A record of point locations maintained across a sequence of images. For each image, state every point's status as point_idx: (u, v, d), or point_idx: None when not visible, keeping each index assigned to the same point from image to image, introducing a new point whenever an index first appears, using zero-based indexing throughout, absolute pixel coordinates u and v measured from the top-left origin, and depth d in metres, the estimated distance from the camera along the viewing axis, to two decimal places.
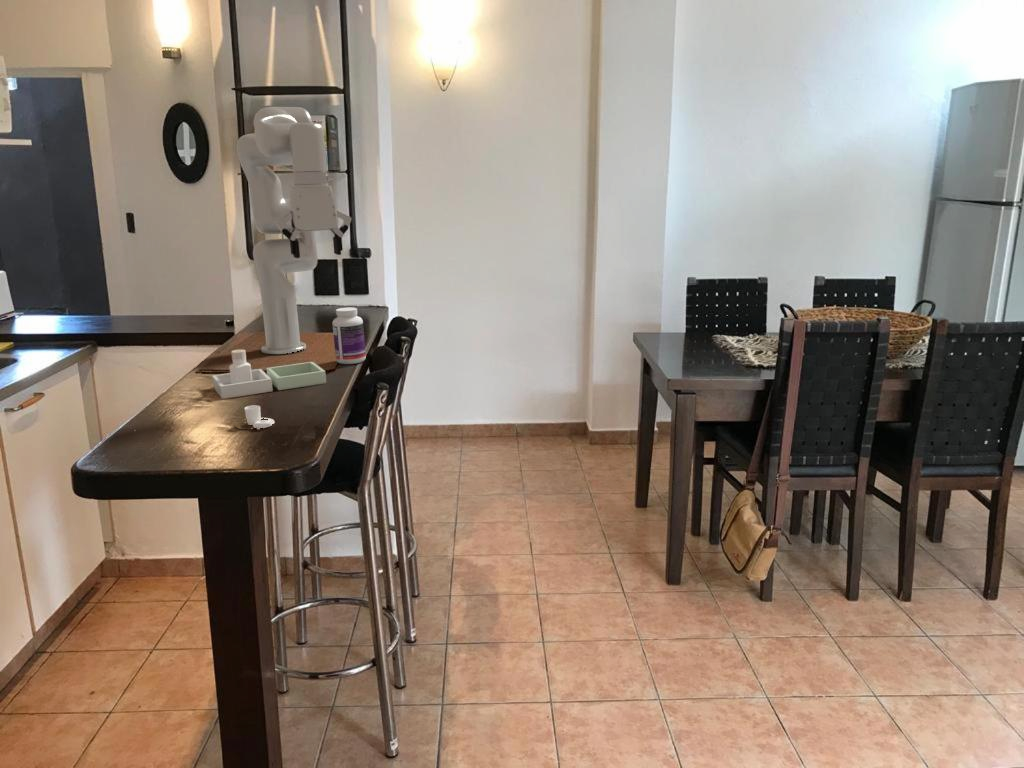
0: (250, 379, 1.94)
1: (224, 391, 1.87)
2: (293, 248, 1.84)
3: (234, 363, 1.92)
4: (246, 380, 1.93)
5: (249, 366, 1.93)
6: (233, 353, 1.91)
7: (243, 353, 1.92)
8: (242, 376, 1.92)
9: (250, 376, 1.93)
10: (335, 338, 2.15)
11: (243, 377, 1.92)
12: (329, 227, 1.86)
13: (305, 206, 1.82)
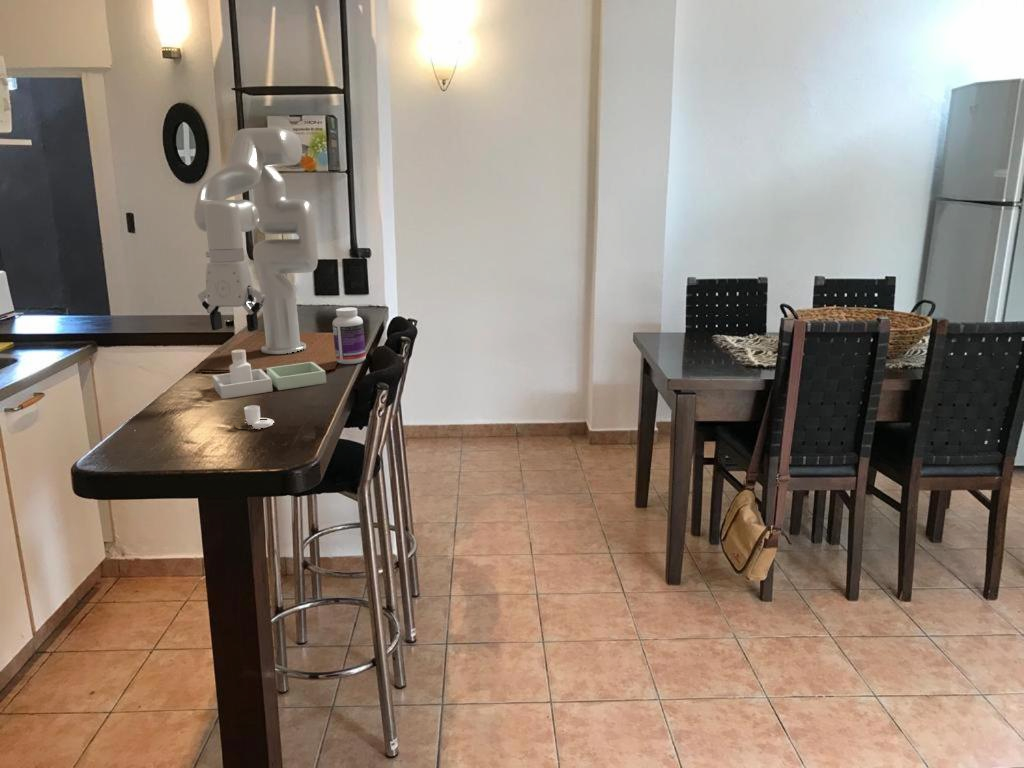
0: (250, 379, 1.94)
1: (224, 391, 1.87)
2: None
3: (234, 363, 1.92)
4: (246, 380, 1.93)
5: (249, 366, 1.93)
6: (233, 353, 1.91)
7: (243, 353, 1.92)
8: (242, 376, 1.92)
9: (250, 376, 1.93)
10: (335, 338, 2.15)
11: (243, 377, 1.92)
12: None
13: None
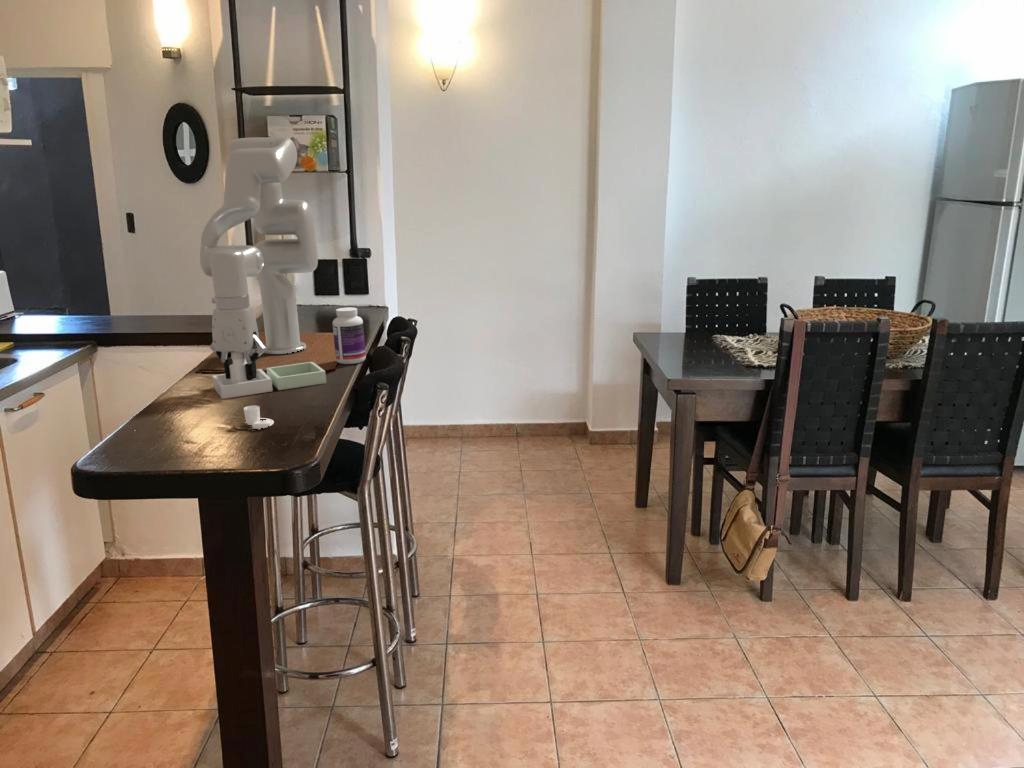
0: None
1: (224, 391, 1.87)
2: None
3: (234, 363, 1.92)
4: (246, 380, 1.93)
5: None
6: (233, 353, 1.91)
7: (243, 353, 1.92)
8: (242, 376, 1.92)
9: None
10: (335, 338, 2.15)
11: (243, 377, 1.92)
12: None
13: None
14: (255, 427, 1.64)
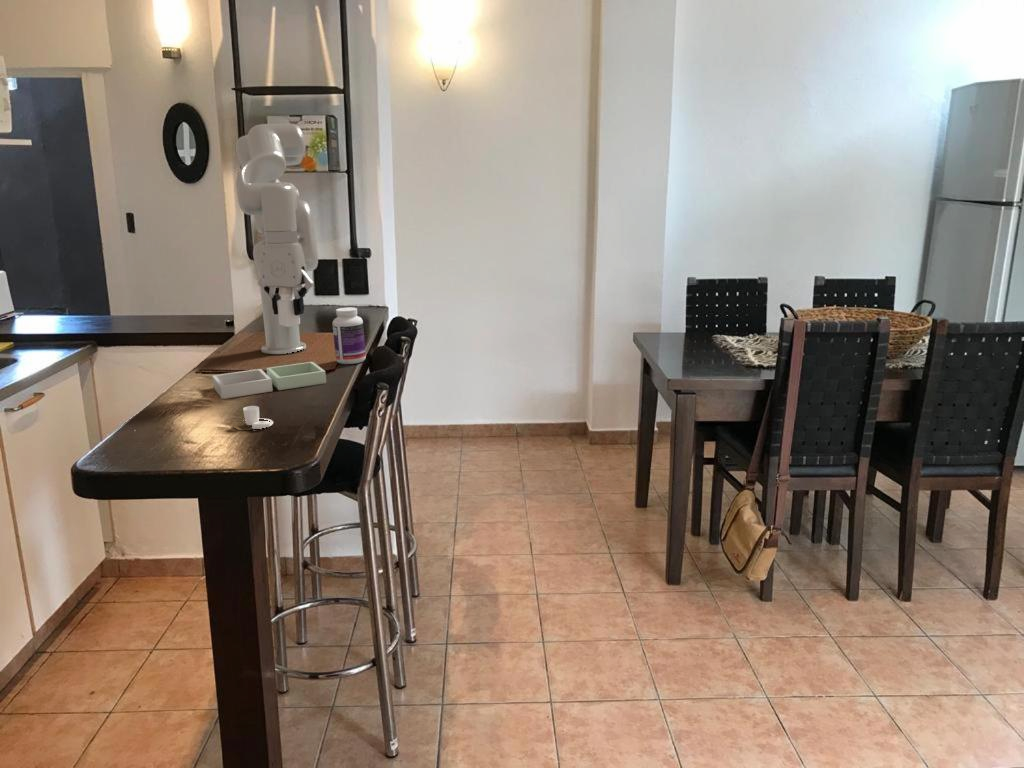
0: None
1: (224, 391, 1.87)
2: None
3: (282, 298, 1.94)
4: (293, 315, 1.95)
5: None
6: (281, 288, 1.93)
7: (291, 288, 1.94)
8: (290, 311, 1.94)
9: None
10: (335, 338, 2.15)
11: (290, 312, 1.94)
12: None
13: None
14: (254, 427, 1.64)
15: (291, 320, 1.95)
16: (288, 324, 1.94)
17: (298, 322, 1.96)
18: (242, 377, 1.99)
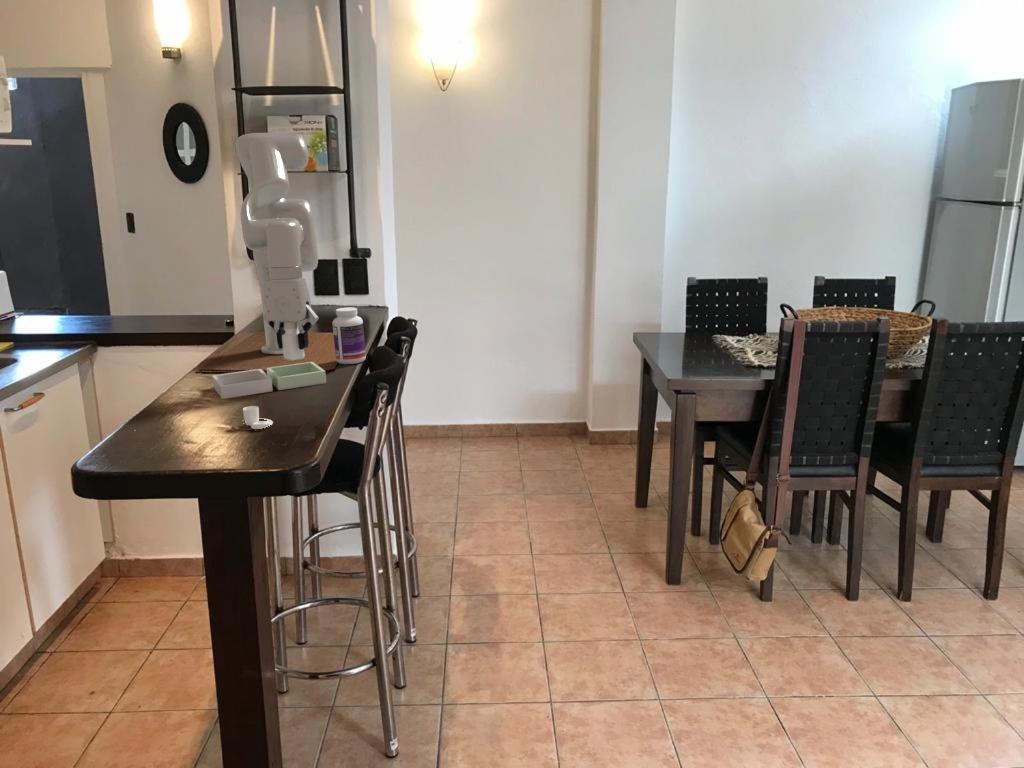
0: None
1: (224, 391, 1.87)
2: None
3: (287, 332, 1.96)
4: (298, 349, 1.97)
5: None
6: (286, 323, 1.95)
7: (295, 323, 1.96)
8: (294, 345, 1.96)
9: None
10: (335, 338, 2.15)
11: (295, 346, 1.96)
12: None
13: None
14: (254, 428, 1.64)
15: (296, 354, 1.97)
16: (293, 358, 1.96)
17: (303, 355, 1.98)
18: (242, 377, 1.99)
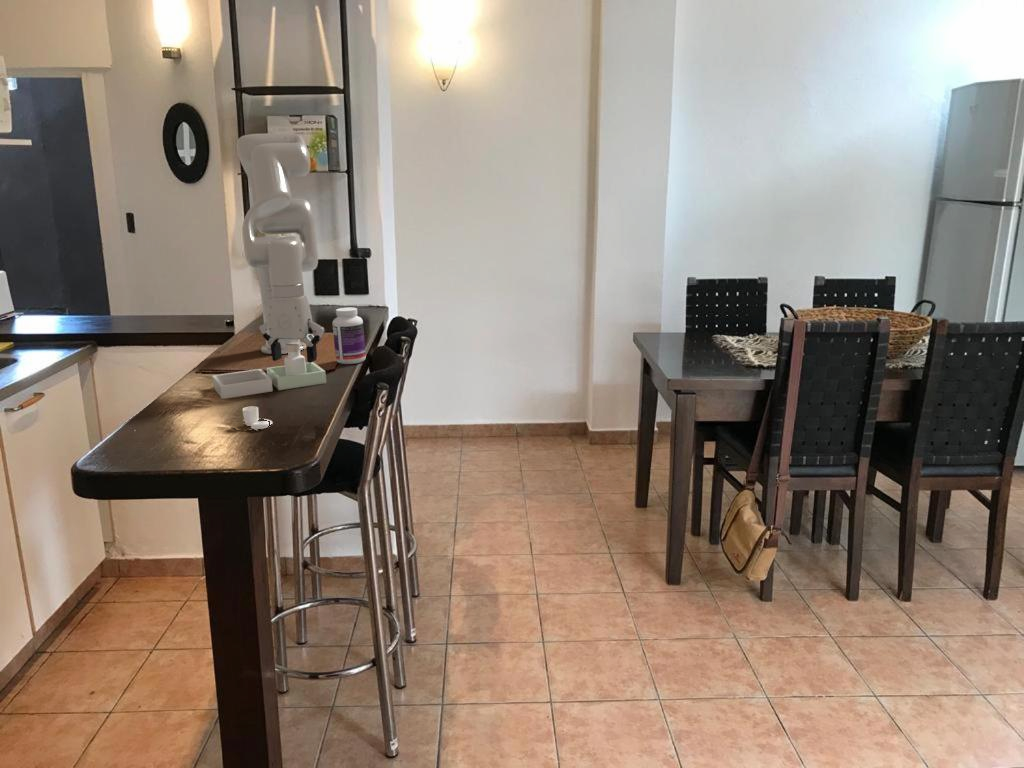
0: (304, 371, 2.00)
1: (224, 391, 1.87)
2: None
3: (289, 356, 1.98)
4: (301, 372, 1.99)
5: (303, 358, 1.99)
6: (288, 346, 1.97)
7: (298, 346, 1.98)
8: (297, 368, 1.98)
9: (304, 368, 2.00)
10: (335, 338, 2.15)
11: (298, 369, 1.98)
12: None
13: None
14: (254, 428, 1.64)
15: None
16: None
17: None
18: (242, 377, 1.99)
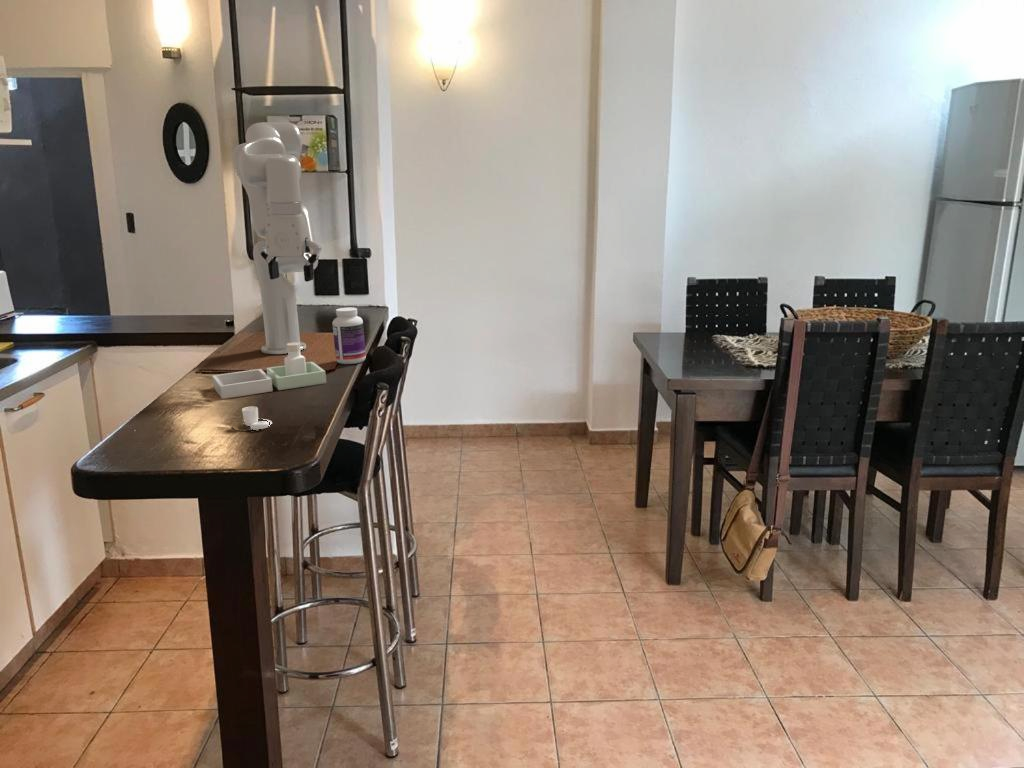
0: (304, 371, 2.00)
1: (224, 391, 1.87)
2: None
3: (289, 356, 1.98)
4: (301, 372, 1.99)
5: (303, 358, 1.99)
6: (288, 346, 1.97)
7: (298, 346, 1.98)
8: (297, 368, 1.98)
9: (304, 368, 2.00)
10: (335, 338, 2.15)
11: (298, 369, 1.98)
12: None
13: None
14: (253, 428, 1.64)
15: None
16: None
17: None
18: (242, 377, 1.99)
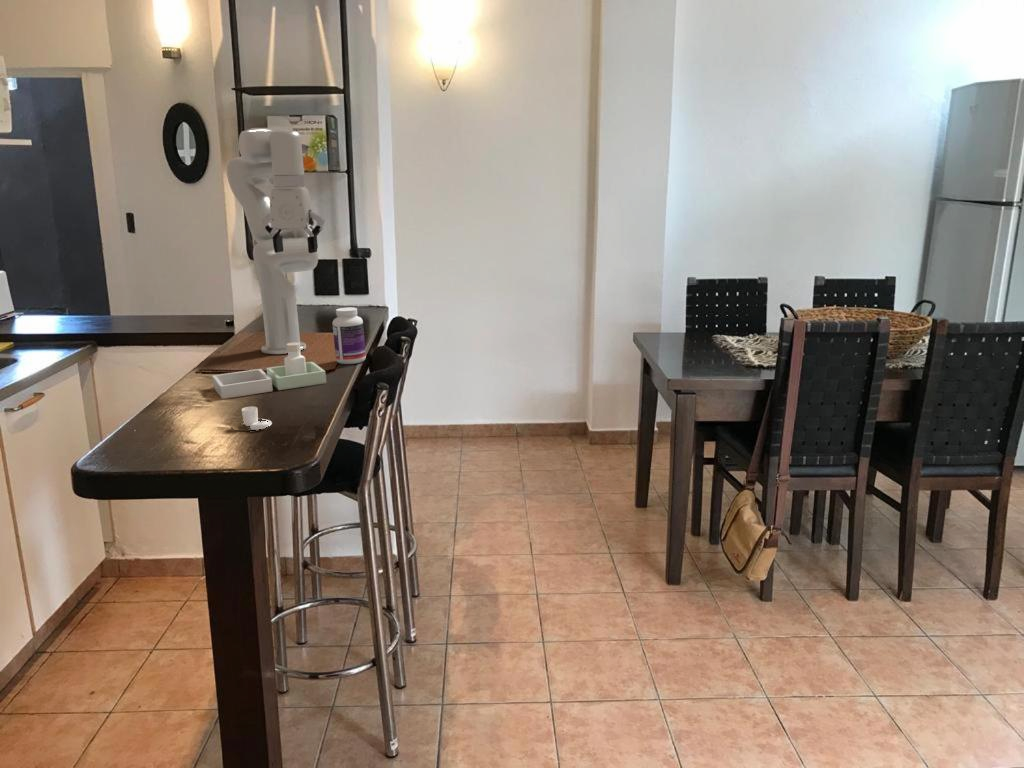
0: (304, 371, 2.00)
1: (224, 391, 1.87)
2: None
3: (289, 355, 1.98)
4: (301, 372, 1.99)
5: (303, 358, 1.99)
6: (288, 346, 1.97)
7: (298, 346, 1.98)
8: (297, 368, 1.98)
9: (304, 368, 2.00)
10: (335, 338, 2.15)
11: (298, 369, 1.98)
12: None
13: None
14: (253, 428, 1.64)
15: None
16: None
17: None
18: (242, 377, 1.99)
